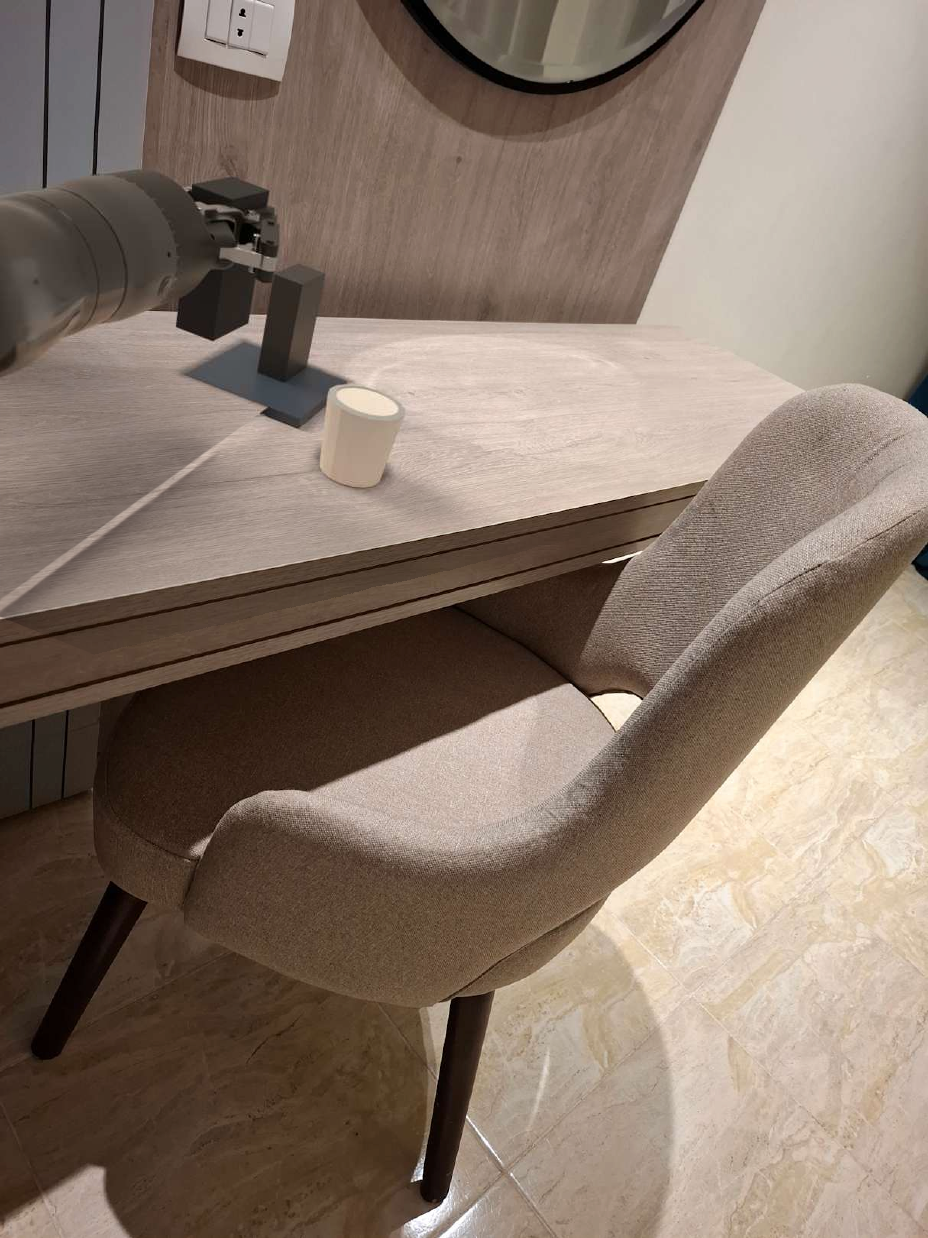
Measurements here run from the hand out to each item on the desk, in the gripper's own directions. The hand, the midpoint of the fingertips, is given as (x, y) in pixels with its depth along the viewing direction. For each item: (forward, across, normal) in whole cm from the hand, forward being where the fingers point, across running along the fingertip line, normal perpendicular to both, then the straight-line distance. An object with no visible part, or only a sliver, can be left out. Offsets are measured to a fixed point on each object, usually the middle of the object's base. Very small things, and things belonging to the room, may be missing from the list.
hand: (245, 211), depth 67 cm
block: (-3, 0, +8) cm, 8 cm away
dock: (+17, +2, +20) cm, 26 cm away
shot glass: (+6, -11, +20) cm, 23 cm away
